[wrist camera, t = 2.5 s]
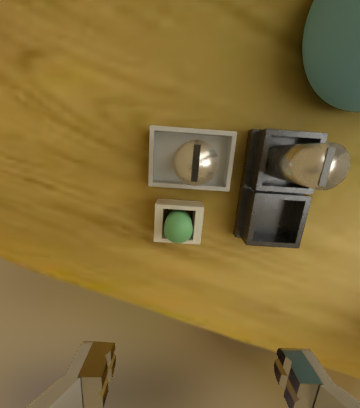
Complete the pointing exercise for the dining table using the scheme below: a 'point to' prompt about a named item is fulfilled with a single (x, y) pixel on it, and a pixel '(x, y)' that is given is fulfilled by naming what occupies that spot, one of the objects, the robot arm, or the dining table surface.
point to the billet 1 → (195, 162)
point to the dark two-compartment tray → (271, 193)
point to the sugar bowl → (334, 52)
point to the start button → (178, 226)
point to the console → (178, 205)
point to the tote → (172, 139)
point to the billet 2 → (309, 164)
